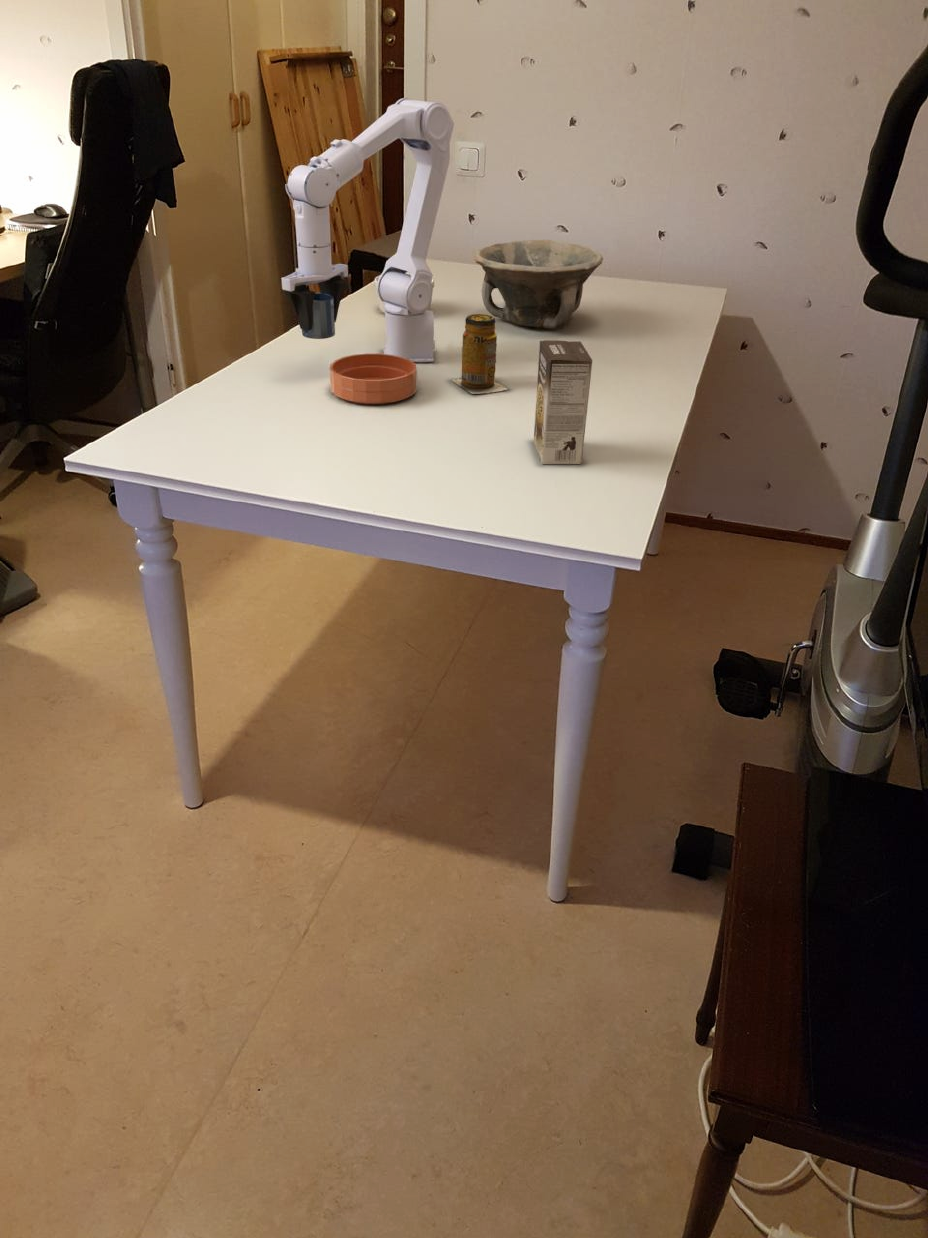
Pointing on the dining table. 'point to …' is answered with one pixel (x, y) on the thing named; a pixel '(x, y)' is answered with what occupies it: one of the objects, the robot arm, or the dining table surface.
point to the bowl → (536, 280)
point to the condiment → (479, 355)
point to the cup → (322, 317)
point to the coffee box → (561, 401)
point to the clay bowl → (373, 378)
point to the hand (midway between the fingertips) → (318, 325)
